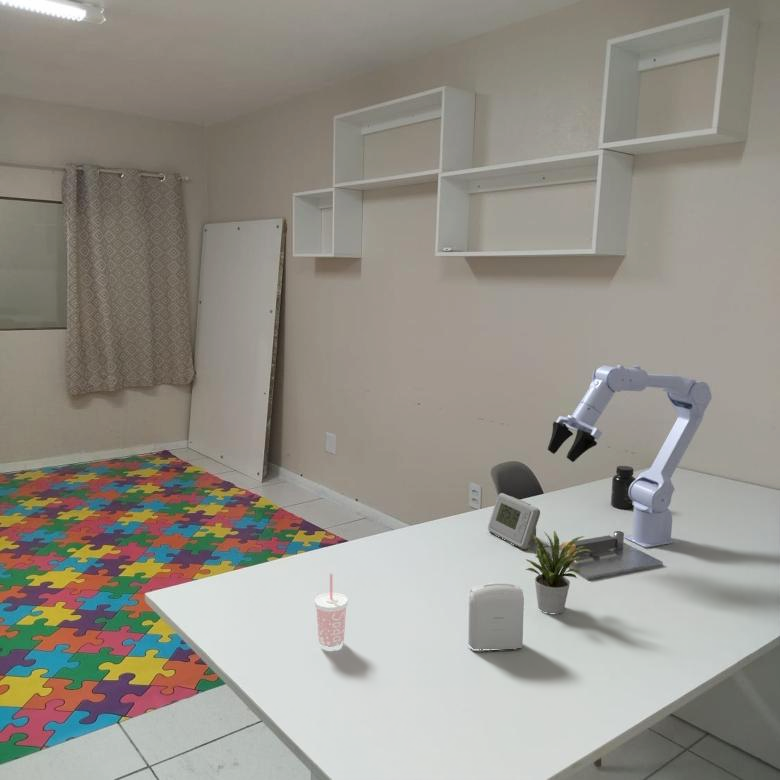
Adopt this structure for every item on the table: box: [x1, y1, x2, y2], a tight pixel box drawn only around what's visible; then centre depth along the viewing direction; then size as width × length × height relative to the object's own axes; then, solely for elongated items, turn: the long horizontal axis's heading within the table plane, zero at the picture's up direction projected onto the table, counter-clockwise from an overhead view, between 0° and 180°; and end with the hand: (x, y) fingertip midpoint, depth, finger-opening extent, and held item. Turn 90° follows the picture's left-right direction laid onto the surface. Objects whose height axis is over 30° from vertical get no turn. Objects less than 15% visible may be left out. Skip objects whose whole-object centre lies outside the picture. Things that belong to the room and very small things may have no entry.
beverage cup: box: [314, 573, 348, 647], centre depth 131 cm, size 6×6×14 cm
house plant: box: [521, 530, 591, 615], centre depth 146 cm, size 14×14×16 cm
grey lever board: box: [545, 530, 664, 581], centre depth 174 cm, size 22×18×5 cm
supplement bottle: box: [610, 465, 637, 510], centre depth 213 cm, size 7×7×12 cm
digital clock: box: [487, 492, 541, 550], centre depth 185 cm, size 16×9×11 cm, turn 17°
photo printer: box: [467, 582, 525, 650], centre depth 131 cm, size 10×4×12 cm, turn 96°
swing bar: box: [561, 534, 616, 556], centre depth 175 cm, size 14×3×3 cm, turn 113°
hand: (560, 455), depth 172 cm, fingers open, 7 cm apart
